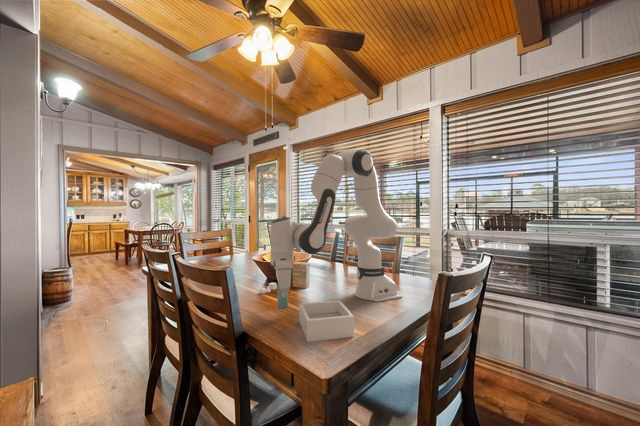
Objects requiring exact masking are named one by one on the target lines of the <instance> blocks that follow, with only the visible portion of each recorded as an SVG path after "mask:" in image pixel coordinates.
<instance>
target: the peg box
mask: <svg viewBox="0 0 640 426" xmlns="http://www.w3.org/2000/svg"><path fill="white" fill-rule="evenodd" d="M299 324H300V327H301V329H302V332H303V334H304V337H305V339H306V342H307V343H310V342H319V341H326V340H327V341H328V340H336V339H338V340H339V339H346V338H353V337H355V315H354V314H353V313H352V312H351V311H350V310H349V309H348V307H347V306H346V305H345V304H344V303H343V302H342V301H341V300H329V301H319V302H304V303H299Z"/></svg>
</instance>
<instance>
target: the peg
mask: <svg viewBox="0 0 640 426" xmlns="http://www.w3.org/2000/svg"><path fill="white" fill-rule="evenodd" d="M276 285H277V288H276V293H277V294H276V295H277V309H279V310H286V309H288V308H289V298H288V297H289V295H288V294H289V289H288V290H286V297H281V290H280V287H279V284H278V283H276Z"/></svg>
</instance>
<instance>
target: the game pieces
mask: <svg viewBox="0 0 640 426" xmlns="http://www.w3.org/2000/svg"><path fill="white" fill-rule="evenodd" d="M258 290H259V294H260V295H265V294H266V293H270V292H272V291H274V290H277V283H276V282H270V283H268V286H266V288H265V287H261V288H259V289H258Z"/></svg>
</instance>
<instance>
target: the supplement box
mask: <svg viewBox="0 0 640 426" xmlns="http://www.w3.org/2000/svg"><path fill="white" fill-rule="evenodd" d="M310 268H311V263H310V262H302V261H294V263H293V268H292V287H293V288H298V289H299V288H301V289H307V288H309V287H310V280H311V279H310V275H311V274H310V271H311V269H310Z"/></svg>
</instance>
